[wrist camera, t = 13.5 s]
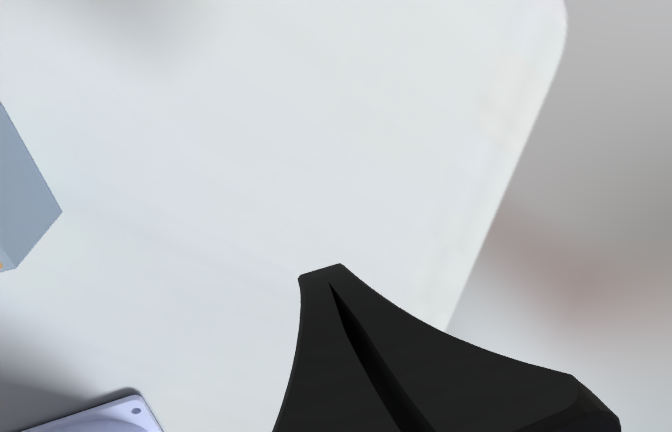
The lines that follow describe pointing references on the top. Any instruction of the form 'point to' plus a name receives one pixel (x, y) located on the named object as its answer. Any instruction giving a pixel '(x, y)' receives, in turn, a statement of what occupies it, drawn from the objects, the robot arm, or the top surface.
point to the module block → (21, 198)
